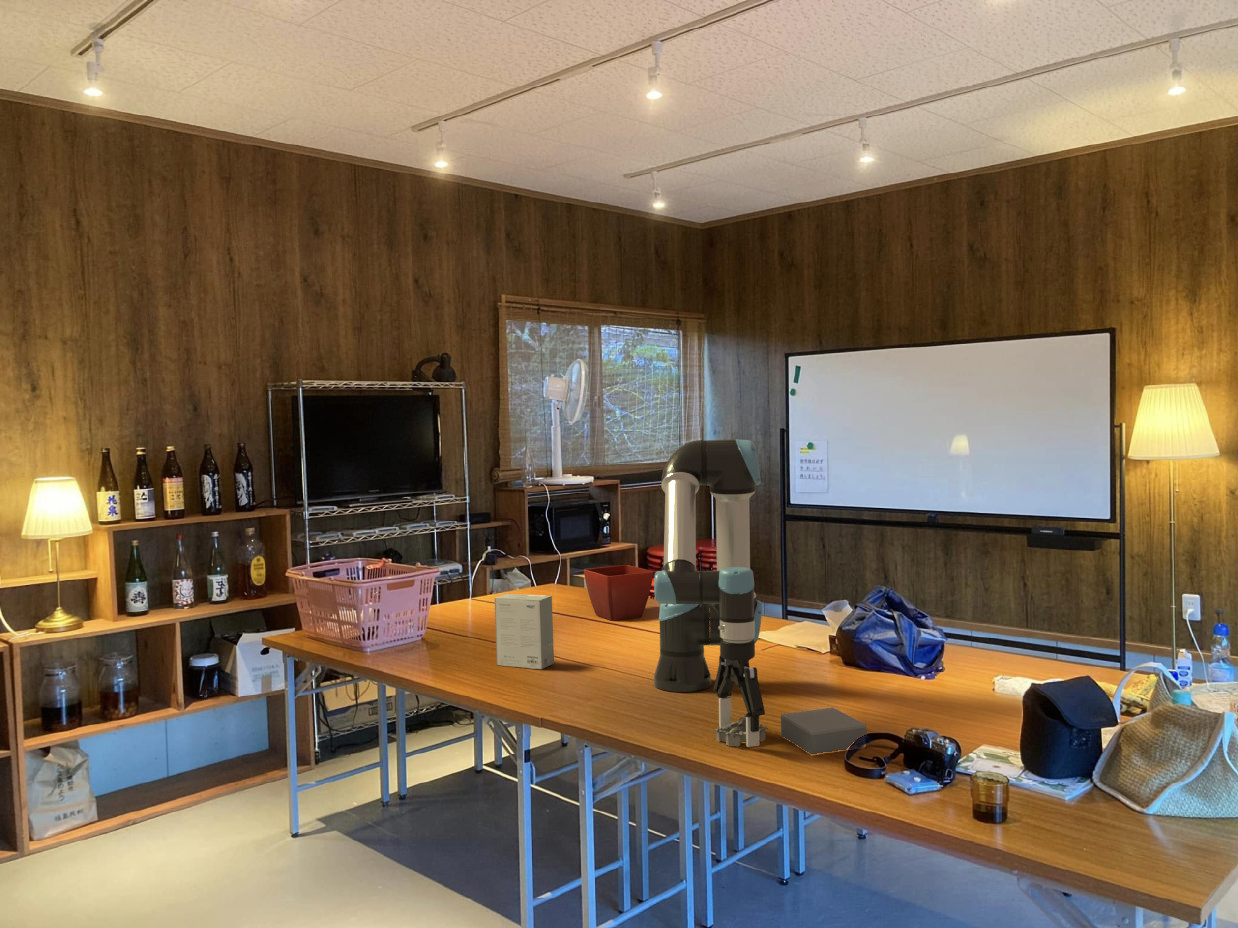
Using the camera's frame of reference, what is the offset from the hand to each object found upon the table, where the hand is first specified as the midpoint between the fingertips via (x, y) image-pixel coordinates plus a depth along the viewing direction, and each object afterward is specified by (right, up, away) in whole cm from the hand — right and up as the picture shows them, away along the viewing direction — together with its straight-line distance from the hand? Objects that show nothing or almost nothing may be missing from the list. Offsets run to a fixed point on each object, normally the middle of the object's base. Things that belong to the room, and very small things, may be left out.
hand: (738, 736), depth 204 cm
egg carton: (+1, -1, -1) cm, 1 cm away
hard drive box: (-53, +1, +68) cm, 86 cm away
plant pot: (-26, +4, +134) cm, 136 cm away
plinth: (+18, 0, -3) cm, 18 cm away
